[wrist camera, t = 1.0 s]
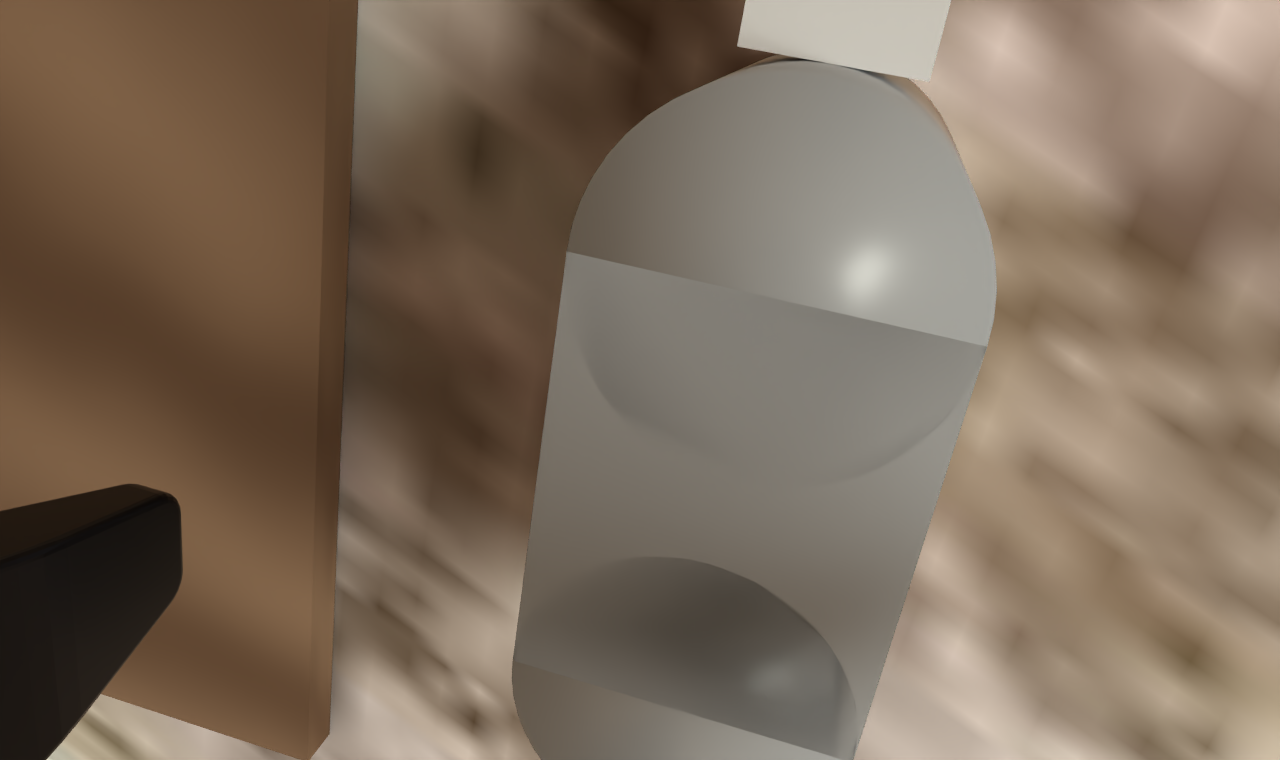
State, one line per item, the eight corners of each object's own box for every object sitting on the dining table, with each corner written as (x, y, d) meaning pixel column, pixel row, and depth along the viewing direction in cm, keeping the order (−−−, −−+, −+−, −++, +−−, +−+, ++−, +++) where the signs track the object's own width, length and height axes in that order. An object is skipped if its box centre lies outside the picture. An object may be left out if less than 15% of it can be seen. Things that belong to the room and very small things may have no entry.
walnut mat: (329, 733, 20) (308, 761, 19) (-86, 599, 21) (-121, 620, 20) (363, -156, 13) (334, -165, 13) (-232, -253, 15) (-289, -265, 14)
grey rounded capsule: (834, 638, 16) (811, 888, 12) (604, 573, 17) (496, 786, 12) (1060, -130, 12) (1169, -214, 7) (733, -178, 12) (637, -285, 8)
